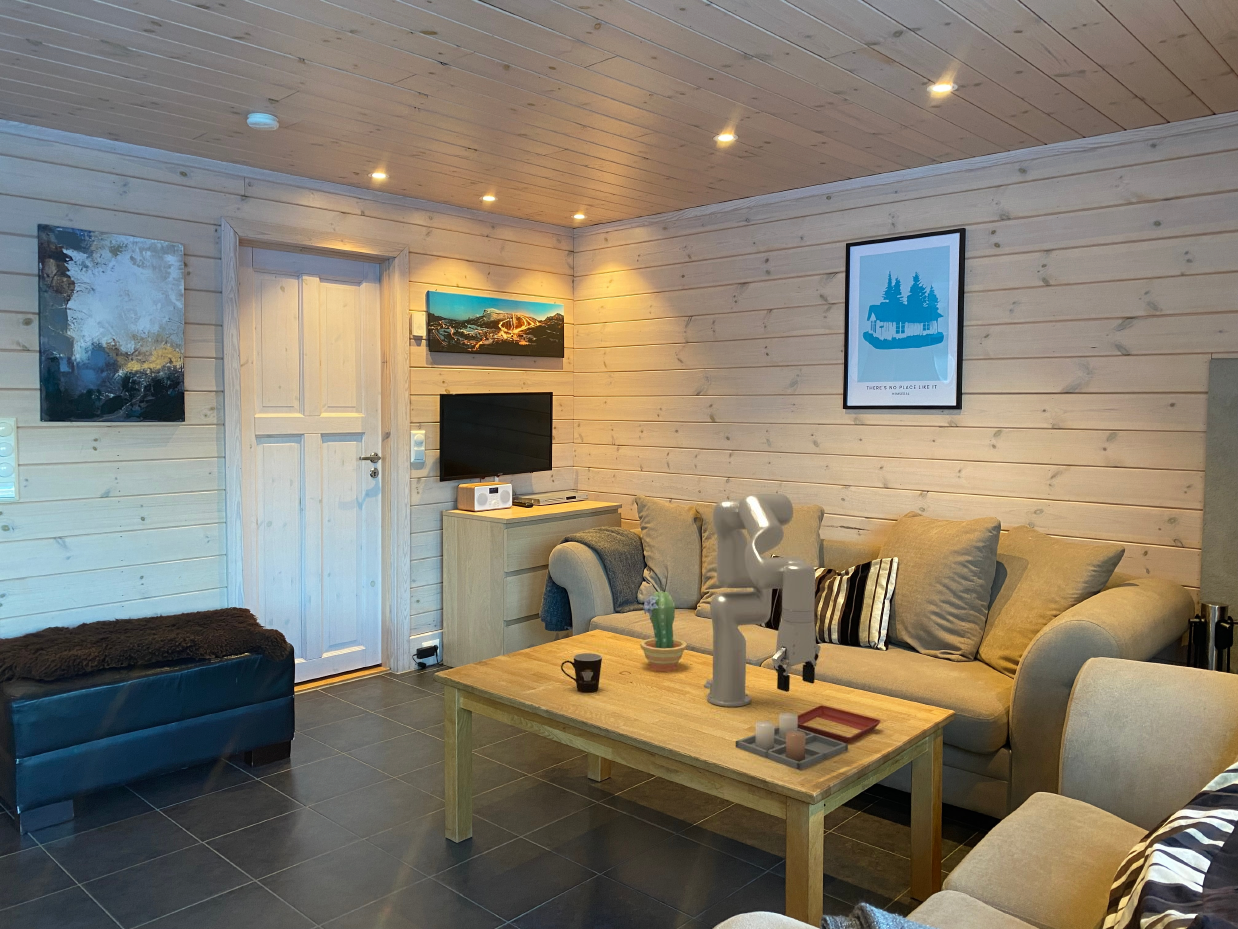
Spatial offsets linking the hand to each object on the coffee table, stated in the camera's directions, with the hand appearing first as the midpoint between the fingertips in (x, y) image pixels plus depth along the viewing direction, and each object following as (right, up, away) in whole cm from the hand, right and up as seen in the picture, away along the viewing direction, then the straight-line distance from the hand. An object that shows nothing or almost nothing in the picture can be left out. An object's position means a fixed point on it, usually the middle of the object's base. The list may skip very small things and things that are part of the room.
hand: (795, 686), depth 218 cm
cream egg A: (-6, -17, +7) cm, 20 cm away
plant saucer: (+15, -18, +23) cm, 32 cm away
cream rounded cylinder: (+1, -17, +14) cm, 22 cm away
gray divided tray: (0, -18, +7) cm, 19 cm away
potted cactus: (-28, -14, +81) cm, 87 cm away
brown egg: (0, -17, 0) cm, 17 cm away
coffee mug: (-53, -15, +57) cm, 80 cm away
